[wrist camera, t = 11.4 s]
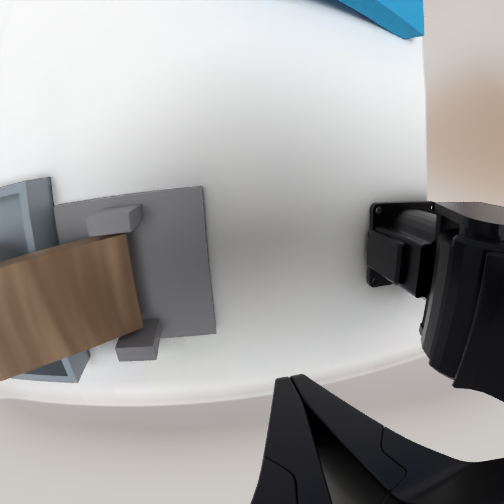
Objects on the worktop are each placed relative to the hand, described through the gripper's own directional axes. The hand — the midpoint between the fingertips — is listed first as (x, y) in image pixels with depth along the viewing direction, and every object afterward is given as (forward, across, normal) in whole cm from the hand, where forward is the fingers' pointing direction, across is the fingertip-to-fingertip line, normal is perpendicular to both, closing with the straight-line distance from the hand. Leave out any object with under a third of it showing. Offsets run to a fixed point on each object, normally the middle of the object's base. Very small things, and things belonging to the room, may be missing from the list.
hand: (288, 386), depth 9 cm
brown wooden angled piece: (+13, +9, 0) cm, 16 cm away
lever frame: (+13, +7, 0) cm, 15 cm away
